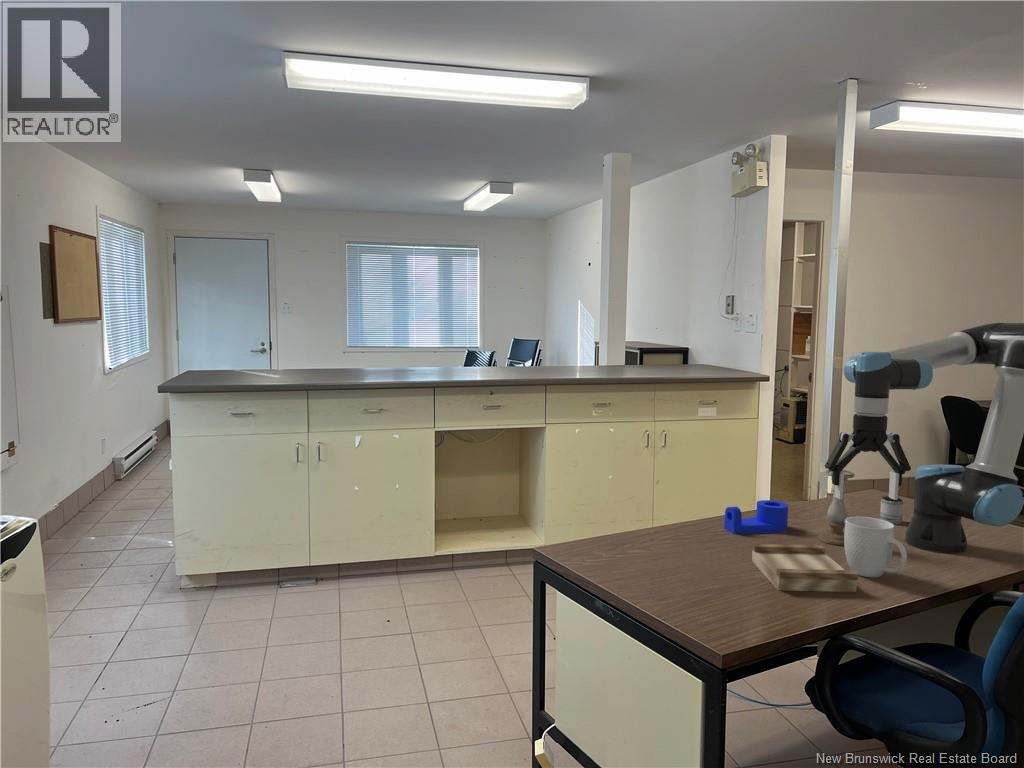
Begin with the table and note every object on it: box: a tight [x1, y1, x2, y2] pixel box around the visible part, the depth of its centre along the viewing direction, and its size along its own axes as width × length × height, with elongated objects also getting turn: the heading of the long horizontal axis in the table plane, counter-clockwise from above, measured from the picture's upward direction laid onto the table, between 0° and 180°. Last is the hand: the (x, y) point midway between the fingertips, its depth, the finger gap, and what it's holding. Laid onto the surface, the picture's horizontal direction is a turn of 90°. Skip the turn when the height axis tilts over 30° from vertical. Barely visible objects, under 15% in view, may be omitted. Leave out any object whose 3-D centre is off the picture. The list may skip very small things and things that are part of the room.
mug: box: [843, 515, 908, 578], centre depth 172 cm, size 15×11×13 cm
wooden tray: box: [751, 543, 859, 593], centre depth 172 cm, size 18×21×4 cm
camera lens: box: [879, 495, 905, 525], centre depth 219 cm, size 6×6×8 cm
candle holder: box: [819, 469, 856, 546], centre depth 199 cm, size 9×9×20 cm
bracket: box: [723, 499, 789, 535], centre depth 210 cm, size 20×9×8 cm, turn 107°
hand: (865, 498), depth 173 cm, fingers open, 13 cm apart
